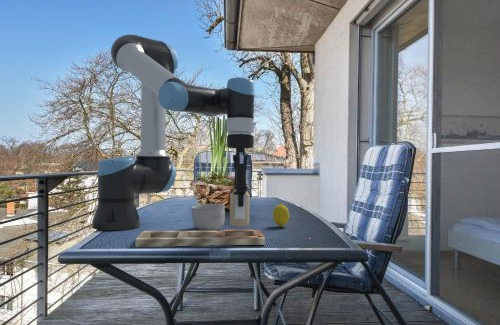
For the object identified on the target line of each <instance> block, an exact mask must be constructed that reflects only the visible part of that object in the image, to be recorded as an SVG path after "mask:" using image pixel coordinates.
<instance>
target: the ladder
mask: <svg viewBox="0 0 500 325" xmlns="http://www.w3.org/2000/svg"><path fill="white" fill-rule="evenodd" d="M209 245H265V246H266V236H264V234H263V232H262V230H255V229H223V230H215V231H200V230H143V231H142V232H141V233H140V234H139V235H138V236H137V237H136V238H135V245H134V246H135V248H153V247H154V248H157V247H159V248H165V247H166V248H167V247H168V248H169V247H173V248H174V247H175V246H192V247H210V246H209ZM175 248H176V247H175Z"/></svg>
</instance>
